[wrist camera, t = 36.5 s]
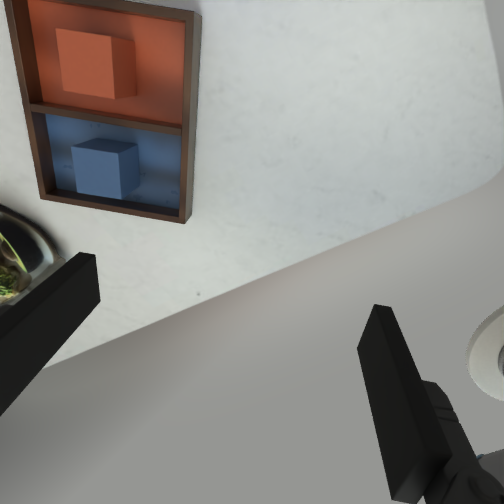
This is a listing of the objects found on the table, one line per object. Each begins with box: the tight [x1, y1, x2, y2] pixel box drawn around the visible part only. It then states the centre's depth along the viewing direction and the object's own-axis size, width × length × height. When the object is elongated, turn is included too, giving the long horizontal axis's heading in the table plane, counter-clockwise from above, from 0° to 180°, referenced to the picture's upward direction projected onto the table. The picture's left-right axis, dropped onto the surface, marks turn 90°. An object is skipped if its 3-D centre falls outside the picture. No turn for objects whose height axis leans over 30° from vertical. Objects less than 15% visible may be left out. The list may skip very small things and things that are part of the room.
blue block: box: [71, 138, 140, 199], centre depth 37 cm, size 5×5×5 cm
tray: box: [3, 0, 202, 224], centre depth 36 cm, size 21×18×3 cm
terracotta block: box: [55, 28, 136, 99], centre depth 32 cm, size 5×5×5 cm
